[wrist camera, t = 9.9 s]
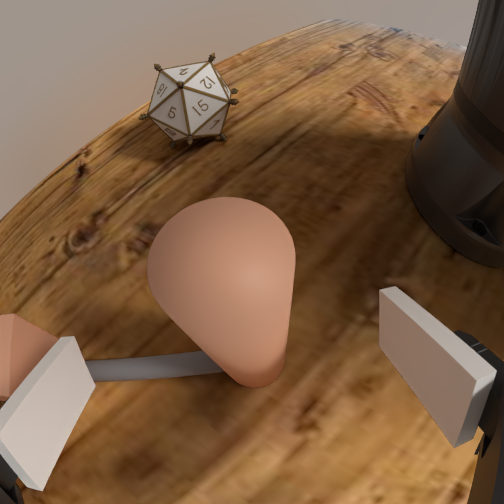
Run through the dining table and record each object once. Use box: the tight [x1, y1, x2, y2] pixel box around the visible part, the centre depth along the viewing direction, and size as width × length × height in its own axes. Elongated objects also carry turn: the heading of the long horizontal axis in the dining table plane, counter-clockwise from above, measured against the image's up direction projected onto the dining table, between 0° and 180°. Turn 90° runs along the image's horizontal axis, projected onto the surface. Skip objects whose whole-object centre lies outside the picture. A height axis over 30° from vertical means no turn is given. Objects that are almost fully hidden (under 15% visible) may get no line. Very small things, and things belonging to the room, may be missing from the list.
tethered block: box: [0, 197, 296, 401], centre depth 13 cm, size 20×5×13 cm, turn 99°
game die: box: [138, 53, 239, 149], centre depth 26 cm, size 9×8×10 cm
